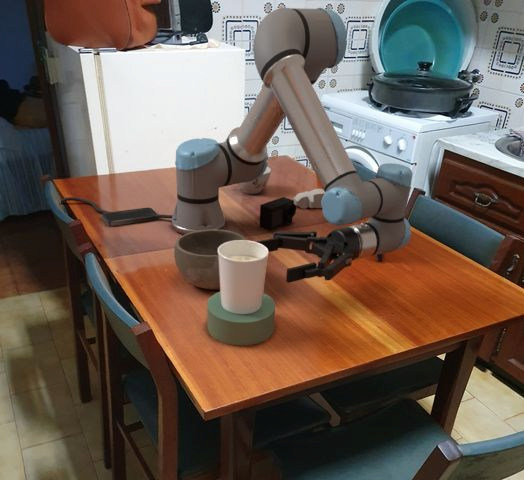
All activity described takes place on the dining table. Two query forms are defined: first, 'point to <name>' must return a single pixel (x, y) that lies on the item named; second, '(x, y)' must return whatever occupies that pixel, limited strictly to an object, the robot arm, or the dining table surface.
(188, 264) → the bowl
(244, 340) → the stand
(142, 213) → the phone
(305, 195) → the bunny figurine
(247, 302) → the candle holder
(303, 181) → the dining table surface
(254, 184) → the teacup
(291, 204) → the digital camera
